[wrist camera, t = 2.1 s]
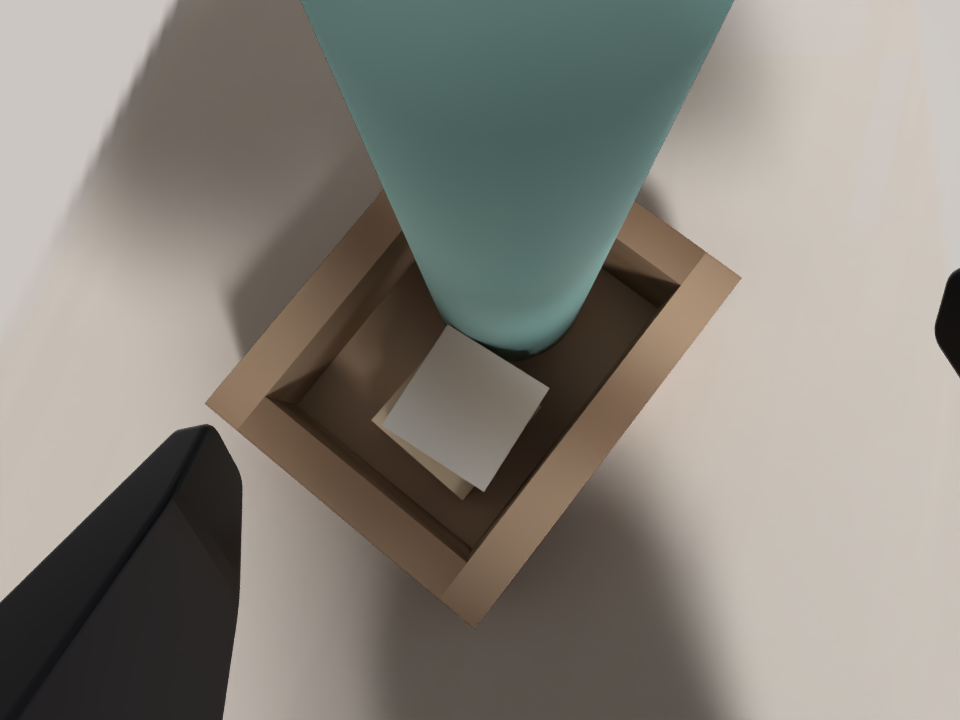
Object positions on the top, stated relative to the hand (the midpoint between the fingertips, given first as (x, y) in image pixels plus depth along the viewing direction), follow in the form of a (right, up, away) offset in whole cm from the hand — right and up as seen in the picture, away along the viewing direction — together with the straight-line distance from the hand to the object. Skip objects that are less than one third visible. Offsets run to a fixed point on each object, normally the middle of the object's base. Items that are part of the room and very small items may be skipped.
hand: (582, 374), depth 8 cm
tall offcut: (0, +2, +10) cm, 11 cm away
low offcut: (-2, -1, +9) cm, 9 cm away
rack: (-1, 0, +11) cm, 11 cm away
